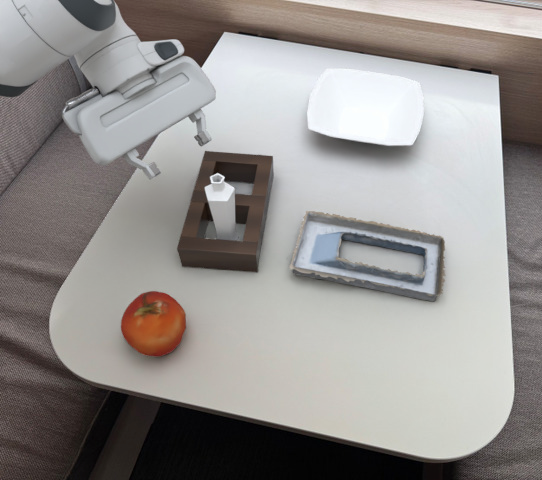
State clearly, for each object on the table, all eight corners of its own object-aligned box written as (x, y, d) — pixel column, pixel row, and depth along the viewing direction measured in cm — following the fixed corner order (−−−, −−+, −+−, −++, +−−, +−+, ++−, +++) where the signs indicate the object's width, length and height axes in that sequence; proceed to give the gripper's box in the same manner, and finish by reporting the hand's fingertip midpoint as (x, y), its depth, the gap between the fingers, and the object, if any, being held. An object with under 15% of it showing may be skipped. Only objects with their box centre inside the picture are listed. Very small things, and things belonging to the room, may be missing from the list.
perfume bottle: (219, 226, 91) (209, 164, 79) (243, 233, 90) (235, 171, 78) (208, 246, 88) (195, 185, 76) (232, 253, 88) (223, 192, 76)
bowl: (415, 171, 101) (420, 150, 97) (298, 153, 103) (298, 131, 99) (421, 101, 115) (427, 79, 110) (318, 86, 117) (319, 63, 112)
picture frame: (304, 219, 93) (305, 208, 91) (444, 242, 91) (448, 232, 89) (288, 280, 85) (288, 270, 82) (441, 307, 83) (445, 297, 80)
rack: (257, 272, 85) (256, 254, 81) (181, 266, 85) (176, 248, 81) (273, 175, 99) (272, 155, 95) (208, 170, 99) (204, 150, 95)
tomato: (175, 371, 74) (164, 346, 68) (116, 354, 76) (100, 328, 69) (201, 317, 80) (193, 289, 74) (146, 301, 81) (134, 273, 75)
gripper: (58, 100, 63) (127, 195, 67) (188, 35, 73) (241, 121, 77) (50, 113, 68) (115, 201, 72) (173, 51, 78) (224, 131, 83)
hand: (181, 159), depth 75 cm, fingers open, 8 cm apart
